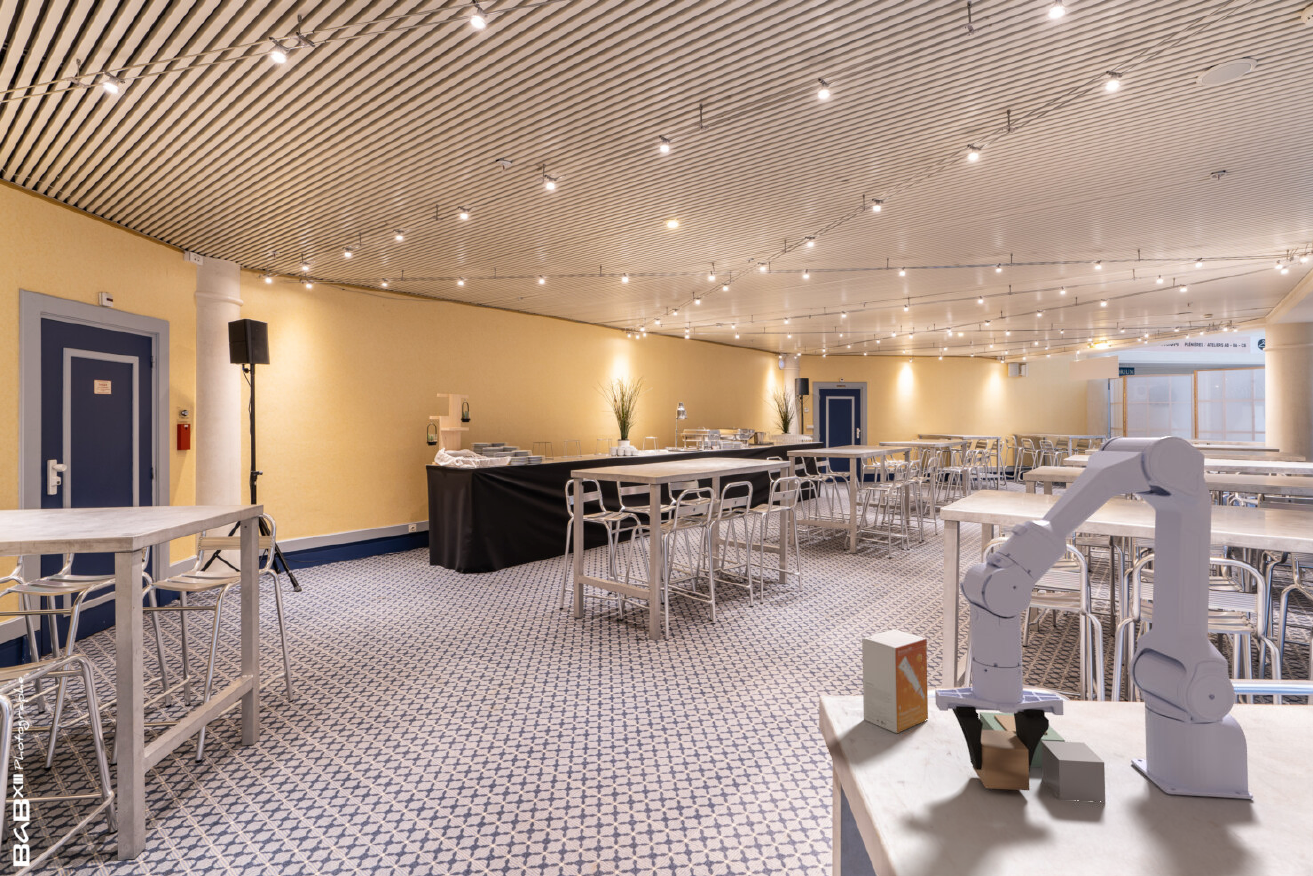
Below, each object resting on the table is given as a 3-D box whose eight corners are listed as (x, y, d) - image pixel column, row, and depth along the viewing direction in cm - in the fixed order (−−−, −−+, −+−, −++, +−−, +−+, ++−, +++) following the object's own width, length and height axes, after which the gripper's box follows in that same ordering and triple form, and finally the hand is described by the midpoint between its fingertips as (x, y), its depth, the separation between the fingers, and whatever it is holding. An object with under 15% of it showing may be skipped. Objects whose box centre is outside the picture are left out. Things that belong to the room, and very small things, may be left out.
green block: (1038, 741, 93) (1037, 712, 93) (1065, 770, 85) (1064, 738, 85) (980, 739, 94) (979, 710, 94) (1001, 767, 86) (1000, 735, 86)
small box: (897, 735, 95) (895, 647, 95) (862, 720, 101) (860, 637, 101) (929, 720, 100) (927, 637, 100) (894, 707, 105) (892, 628, 105)
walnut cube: (1013, 769, 83) (1012, 731, 83) (1029, 790, 78) (1028, 749, 78) (972, 767, 84) (971, 729, 84) (985, 788, 79) (984, 747, 79)
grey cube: (1084, 781, 82) (1083, 742, 82) (1105, 804, 77) (1104, 762, 77) (1042, 779, 82) (1041, 740, 82) (1060, 801, 77) (1059, 760, 77)
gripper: (944, 669, 78) (948, 780, 78) (1074, 673, 76) (1077, 787, 76) (929, 650, 85) (932, 752, 85) (1047, 653, 83) (1050, 758, 83)
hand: (999, 767), depth 81 cm, fingers closed on walnut cube, 5 cm apart
